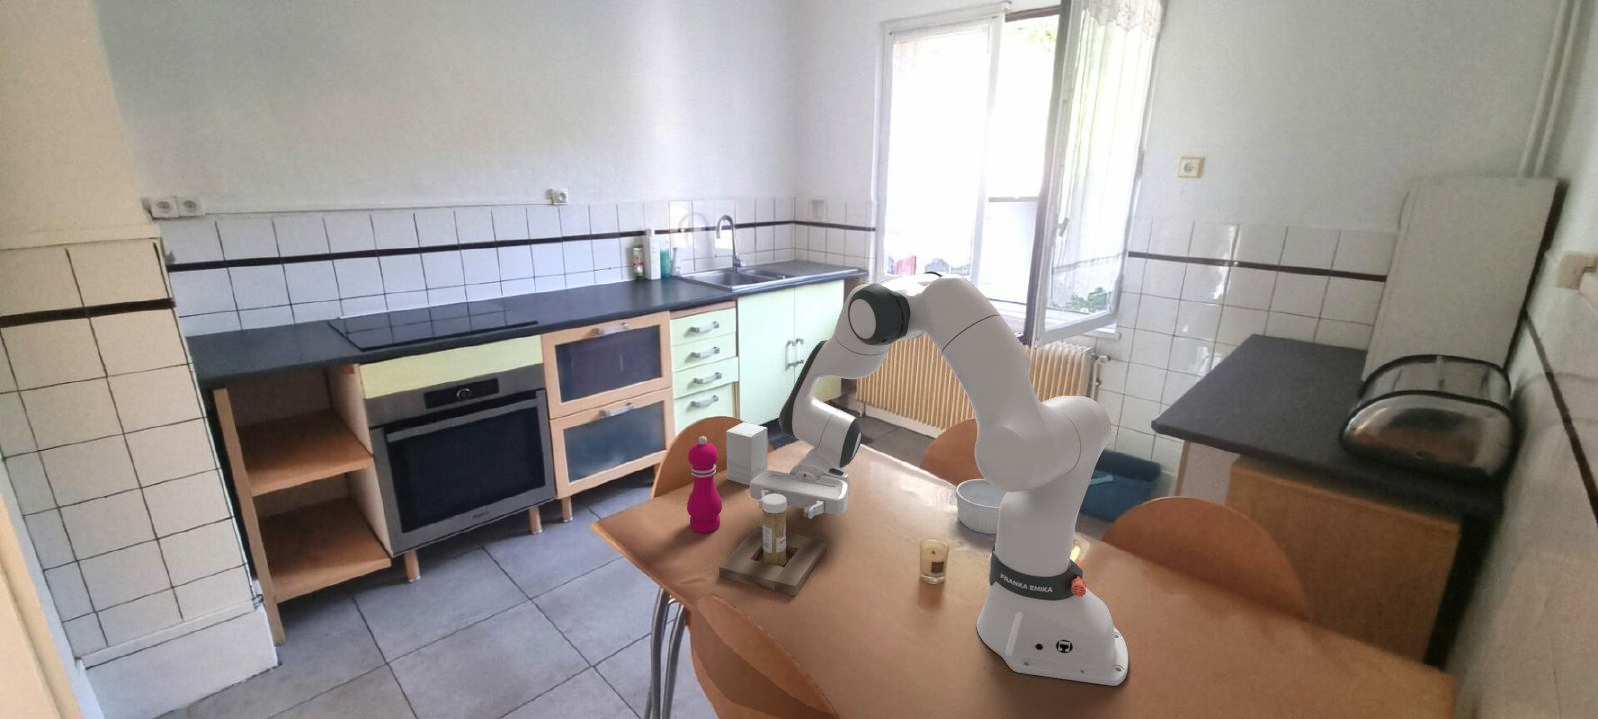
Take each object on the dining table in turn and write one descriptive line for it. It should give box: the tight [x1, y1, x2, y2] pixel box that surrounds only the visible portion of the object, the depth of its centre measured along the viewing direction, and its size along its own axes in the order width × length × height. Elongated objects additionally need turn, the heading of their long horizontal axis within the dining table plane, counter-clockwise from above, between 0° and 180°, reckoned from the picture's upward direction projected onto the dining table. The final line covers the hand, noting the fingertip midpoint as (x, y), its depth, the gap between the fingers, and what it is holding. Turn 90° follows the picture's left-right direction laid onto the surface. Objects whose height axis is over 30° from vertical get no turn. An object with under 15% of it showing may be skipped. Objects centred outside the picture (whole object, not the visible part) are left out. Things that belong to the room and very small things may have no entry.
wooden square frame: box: [718, 525, 827, 597], centre depth 126 cm, size 15×16×2 cm
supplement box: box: [725, 421, 769, 487], centre depth 160 cm, size 7×7×13 cm
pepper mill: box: [686, 435, 723, 534], centre depth 137 cm, size 7×7×20 cm
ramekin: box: [955, 478, 1007, 535], centre depth 141 cm, size 13×13×7 cm
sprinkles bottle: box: [761, 494, 788, 567], centre depth 125 cm, size 5×5×13 cm
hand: (784, 509), depth 128 cm, fingers open, 8 cm apart
